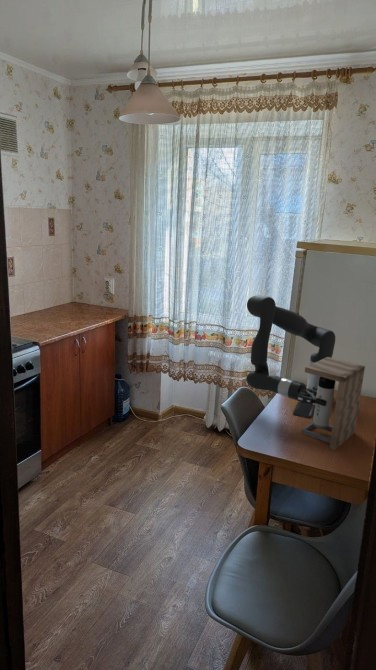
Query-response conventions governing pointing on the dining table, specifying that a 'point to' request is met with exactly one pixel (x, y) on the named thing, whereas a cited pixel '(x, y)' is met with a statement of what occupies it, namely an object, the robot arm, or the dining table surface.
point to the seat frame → (315, 435)
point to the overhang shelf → (342, 395)
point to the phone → (304, 409)
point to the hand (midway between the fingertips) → (329, 401)
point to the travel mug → (324, 412)
